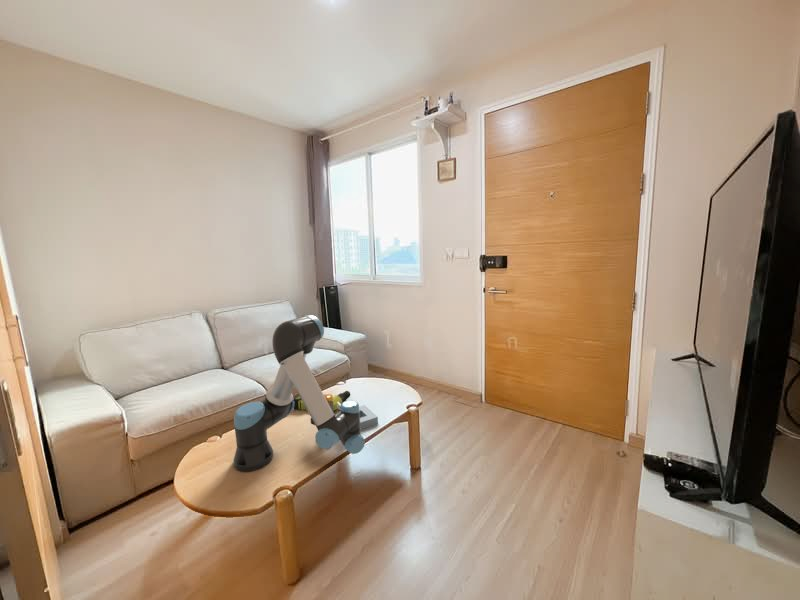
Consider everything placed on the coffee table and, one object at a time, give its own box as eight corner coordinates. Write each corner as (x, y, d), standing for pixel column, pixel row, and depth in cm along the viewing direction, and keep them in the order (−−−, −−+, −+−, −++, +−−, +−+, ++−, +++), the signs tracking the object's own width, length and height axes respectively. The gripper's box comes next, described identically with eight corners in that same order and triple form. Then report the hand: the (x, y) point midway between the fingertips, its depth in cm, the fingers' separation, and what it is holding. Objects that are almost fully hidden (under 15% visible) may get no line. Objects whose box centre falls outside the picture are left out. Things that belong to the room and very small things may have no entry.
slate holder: (350, 432, 156) (349, 425, 155) (338, 419, 168) (338, 412, 168) (377, 423, 164) (377, 416, 163) (364, 411, 176) (364, 405, 176)
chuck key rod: (326, 435, 154) (323, 399, 151) (322, 430, 158) (320, 395, 155) (336, 432, 156) (334, 397, 153) (332, 427, 161) (330, 393, 158)
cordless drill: (321, 391, 202) (355, 399, 190) (291, 410, 180) (327, 420, 169) (320, 380, 200) (354, 387, 189) (290, 398, 179) (326, 408, 167)
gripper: (315, 445, 135) (301, 422, 153) (368, 427, 147) (349, 408, 165) (314, 429, 133) (299, 407, 152) (367, 412, 146) (348, 394, 164)
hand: (325, 408), depth 159 cm, fingers open, 12 cm apart
